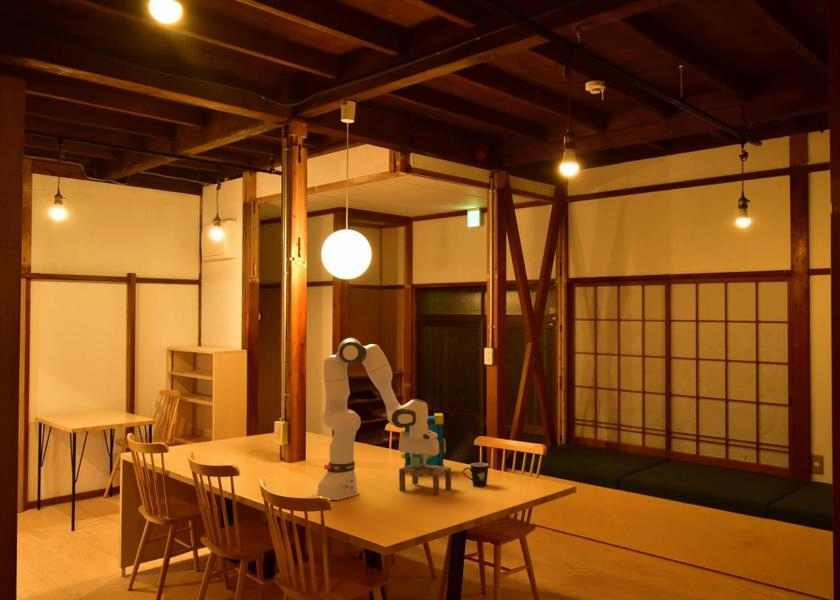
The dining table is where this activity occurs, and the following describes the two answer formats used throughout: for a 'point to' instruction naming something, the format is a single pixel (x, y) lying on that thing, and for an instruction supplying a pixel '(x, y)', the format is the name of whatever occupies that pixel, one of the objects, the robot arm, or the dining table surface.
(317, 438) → the dining table surface
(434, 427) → the decorative book
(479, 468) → the coffee mug
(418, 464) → the peg
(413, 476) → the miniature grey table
